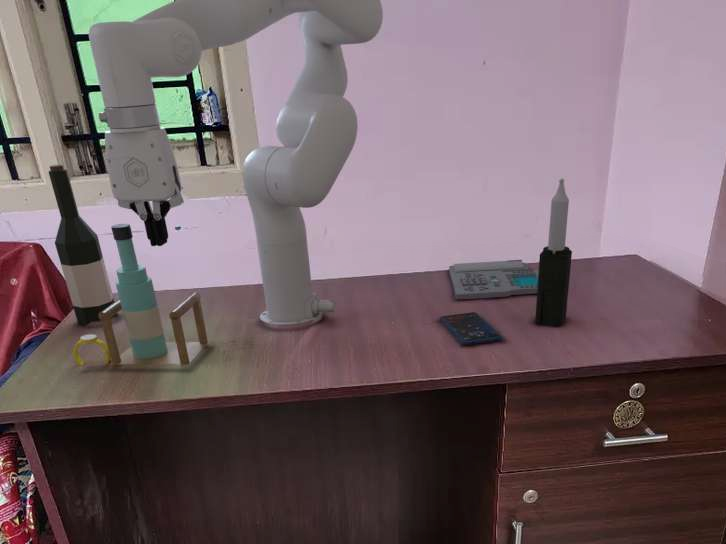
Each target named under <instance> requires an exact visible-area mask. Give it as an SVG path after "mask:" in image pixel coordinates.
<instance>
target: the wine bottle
mask: <svg viewBox="0 0 726 544" xmlns="http://www.w3.org/2000/svg"><path fill="white" fill-rule="evenodd" d="M48 177H49V179H50V183H51V186H52V190H53V193H54V198H55V201H56V204H57V207H58V210H59V215H60V222H59V225H58V229H57V233H56V236H55V241H54V246H55V249H56V252H57V256H58V259H59V262H60V266H61V270H62V273H63V276H64V279H65V284H66V286H67V287H66V288H67V290H68V293H69V297H70V301H71V304H72V307H73V311H74V315H75V318H76V321H77V325H78V326H79V327H86V326H88V325H89V324H90V323H92V322H101V320H100V319H99V317H98V315H99V313H100V312H102V311H103V310H104V309H106V308H107V307H109V306H110V305H112V304H113V303H114V302H115V298H114V295H113V291H112V288H111V282H110V279H109V275H108V272H107V267H106V264H105V259H104V255H103V252H102V248H101V243H100V240H99V237H98V235H97V233H96V232H95V231H94V230H93V229H92V227H90V226H89V224H88V223H87V222H86V221H85V220H84V219H83V218H82V216H80V213H79V210H78V206H77V202H76V198H75V194H74V191H73V188H72V184H71V179H70V175H69V173H68V169H67V168H65V167H64V164H54V165H50V166H49V170H48ZM111 318H119V314H118V313H116V314H115V315H113V316H112V317H111Z"/></svg>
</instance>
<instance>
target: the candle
mask: <svg viewBox="0 0 726 544" xmlns="http://www.w3.org/2000/svg"><path fill="white" fill-rule="evenodd" d="M558 181H559V185H558V187H557V189H556V193H555V195H554V196H553V197H552V199H551V201H550V202H551V203H550V215H549V229H548V230H549V231H548V244H547V246H544V247H543V248H542V251H541V252H540V253H539V261H538V270H539V273H538V287H537V293H536V303H535V317H534V324H535V325H537V326H548V327H562V326H563V324H565V322H566V320H567V311H568V310H567V309H568V301H569V299H568V297H569V290H570V289H569V288H570V278H571V266H572V255H573V251H572V250H571V249H570V247H569V246H566V238H567V225H568V215H569V214H568V213H569V205H570V204H569V203H570V199H569V197H568V196H567V194H566V189H565V179H564V178H560V179H559V180H558Z"/></svg>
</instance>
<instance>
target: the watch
mask: <svg viewBox="0 0 726 544" xmlns="http://www.w3.org/2000/svg"><path fill="white" fill-rule="evenodd" d="M93 343H95V344H96V345H99V346H100V347H101V348H102V349H103V350H104V352H105V355H106V361H105V364H110V361H111V357H110V353H109V349H108V346H107V343H106V342H105V341H103V340H102V339H100V338H98V336H97V335H96V334H92V333H91V334H90V333H88V334H83V335H81V336H80V338H79V340H78V341H77V342H76V343H75V345H74V348H73V358H74V360H75V362H76V363H77V365H79V366H83V365H84V363H85V362H84V361H83V359H82V358H81V356H80V354H79V347H80V345H81V344H93Z"/></svg>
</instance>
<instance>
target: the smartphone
mask: <svg viewBox="0 0 726 544" xmlns="http://www.w3.org/2000/svg"><path fill="white" fill-rule="evenodd" d="M439 321H440V322H441V323H442V324H443V325H444V326H445V327H446V328H447V329H448V330H449V332H451V334H452V335H453V336H454V337H455V338H456V339H457V341H459V342H460V343H461V345H463V346H468V345H469V346H470V345H478V344H483V343H484V344H485V343H491V342H498V341H499V342H500V341H502V340H503V336H502V335H501V334H500V333H499V332H498V331H497V330H496V329H495V328H493V326H491V325H490V324H489V323H488V322H487V321H486V320H485V319H484V318H483V317H482V316H481V315H480V314H479V313H477V312H476V311H472V312H464V313H456V314H448V315H442V316H440V317H439Z"/></svg>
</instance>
